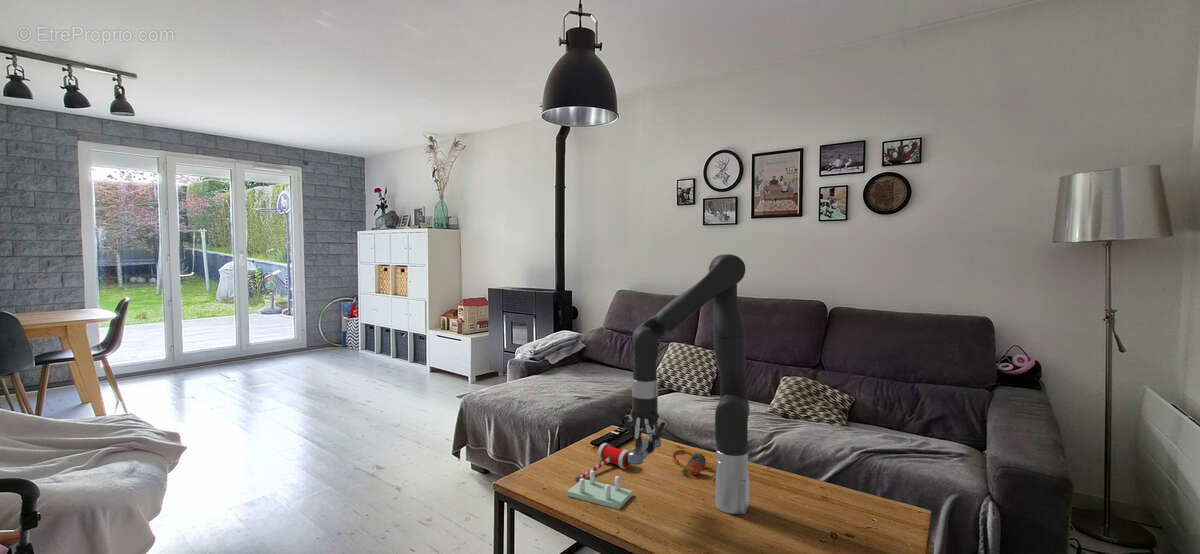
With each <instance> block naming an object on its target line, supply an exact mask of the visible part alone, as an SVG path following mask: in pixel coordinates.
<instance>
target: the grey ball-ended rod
mask: <svg viewBox="0 0 1200 554" xmlns="http://www.w3.org/2000/svg"><path fill="white" fill-rule="evenodd" d="M655 435H656V433H655ZM648 441H649V438H648V434H647V435H646V438H645V439H644V440H642V443H641V444H640V445H638V446H637V447H635V448H634V449H630V450H629V451H628V463H630V464H631V465H634V466H637V465H642V464H644V460H646V458H647V457H649V455H650V453H648ZM660 447H662V436H661V437H660V438H659V439H658V440H655V450H656V449H657V448H660Z"/></svg>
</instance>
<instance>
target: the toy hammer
mask: <svg viewBox="0 0 1200 554" xmlns="http://www.w3.org/2000/svg"><path fill="white" fill-rule="evenodd" d="M628 451H630V450H629V449H620V448H617V447H614V446H612V445H611V444H609V443H607V442H603V443H602V444H600V445H599V447H598V450H597V459H598V460H599V461H600V463H597V464H596V465H595V466H594V467H592V468H591V469H589V470H587V471H586V472H584V473H583V474H581V475H578V476H576V477H575V482H577V483H578V482H579V481H580V479H581V478H583V479H585V478H587V477H588V476H590V471H591V470H593V471H595V472H596V471H598V470H600V469H601V468H603V467H604V466H605V465H607V464H608V463H610V464H613V465H617V466H618V467H619V468H620V469H623V470H626V469H628V468H630V467H631V465H632V464H630V463H628Z"/></svg>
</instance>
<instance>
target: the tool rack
mask: <svg viewBox="0 0 1200 554" xmlns="http://www.w3.org/2000/svg"><path fill="white" fill-rule="evenodd" d="M595 472H596V471H593V470H591V471H590V475H589V479H587V478H586V479H585V478H584V479H583V478H581V479H580V481H579V482H577V483H575V485H573V486H572V487H571V488H569V489H568V490H567V491H566V496H567V497H569V498H573V499H577V500H582V501H584V502H589V503H593V504H596V505H601V506H604V507H608V508H612V509H616V510H621V508H622V507H623V506H624V505H625V504H626V503H627V502H628V501H629V500H630V499H631V498H632V497H633V494H634V490H632V489H629V488H624V487H621V476H619V475H616V476H614V485H612V484H607V483H604V482H603V483H602V482H599V481H596V473H595Z"/></svg>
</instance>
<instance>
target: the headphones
mask: <svg viewBox="0 0 1200 554" xmlns="http://www.w3.org/2000/svg"><path fill="white" fill-rule="evenodd" d="M679 455H680V456H681V455H683V456H684V455H686V456H690V460H689V461H688V462H687V465H686V464H683V463H681V461H680V460H678V459H677V458H676V457H677V456H679ZM671 456H672V457H671V459H672V462H673V463H674V465H676V466H678V467H680V468H683V469H685V470H688V472H689V473H690V474H691V475H694V476H695V475H696V476H697V475H699V474H701V473H702V472H706V471H713V470H716V465H715V466H711V464H709V463H708V461H707V460H706V456H705V455H703V454H702V453H699V452H694V453H693V452H690V451H688V450H687V451H686V450H684V449H679V450H678V449H677V450H675V451H674V452H673V454H672V455H671ZM706 464H708V467H710V468H712V469H705V470H703V469H704V467H705V466H706ZM713 474H714V475H715V476H716V472H715V473H713ZM712 482H713V483H714V482H716V478H713V480H712Z"/></svg>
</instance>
